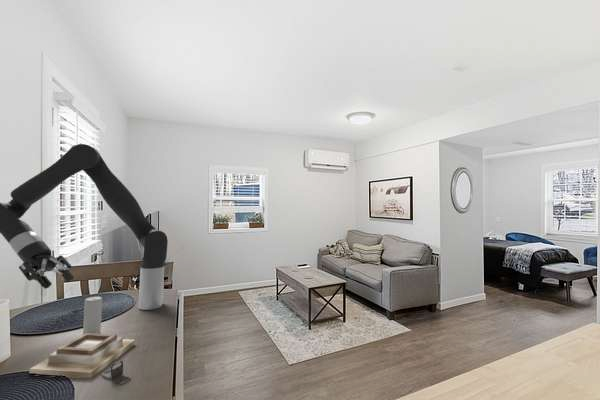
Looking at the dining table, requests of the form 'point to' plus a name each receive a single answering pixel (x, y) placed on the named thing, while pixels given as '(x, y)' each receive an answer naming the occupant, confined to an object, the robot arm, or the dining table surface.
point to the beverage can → (92, 315)
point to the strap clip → (116, 374)
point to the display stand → (84, 356)
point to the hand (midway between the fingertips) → (60, 283)
